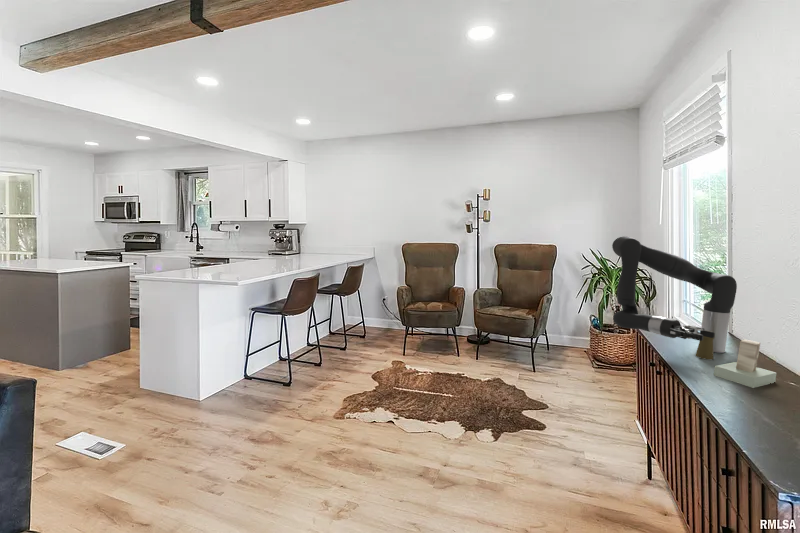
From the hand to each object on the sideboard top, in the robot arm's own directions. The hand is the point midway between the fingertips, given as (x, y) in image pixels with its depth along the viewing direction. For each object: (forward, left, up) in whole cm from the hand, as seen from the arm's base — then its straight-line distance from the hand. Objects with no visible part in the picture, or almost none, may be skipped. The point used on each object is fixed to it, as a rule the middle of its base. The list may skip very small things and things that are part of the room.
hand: (708, 336), depth 158 cm
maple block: (0, +13, -8) cm, 15 cm away
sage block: (0, +13, -12) cm, 18 cm away
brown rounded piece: (-14, -6, -12) cm, 19 cm away
